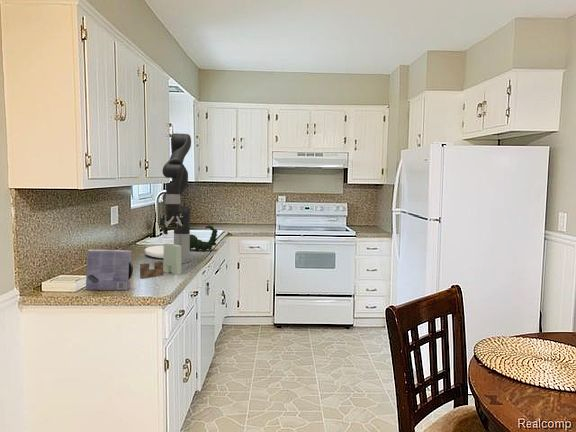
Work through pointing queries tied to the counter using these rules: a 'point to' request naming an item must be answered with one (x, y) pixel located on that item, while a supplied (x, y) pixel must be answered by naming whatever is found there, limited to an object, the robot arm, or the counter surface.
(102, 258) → the cake pan box
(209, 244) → the toy figurine
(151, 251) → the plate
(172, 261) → the pale green plank
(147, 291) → the counter surface
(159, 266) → the walnut u-shaped block
